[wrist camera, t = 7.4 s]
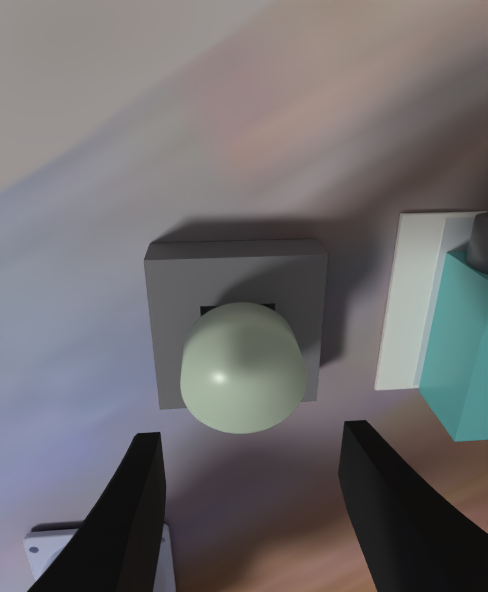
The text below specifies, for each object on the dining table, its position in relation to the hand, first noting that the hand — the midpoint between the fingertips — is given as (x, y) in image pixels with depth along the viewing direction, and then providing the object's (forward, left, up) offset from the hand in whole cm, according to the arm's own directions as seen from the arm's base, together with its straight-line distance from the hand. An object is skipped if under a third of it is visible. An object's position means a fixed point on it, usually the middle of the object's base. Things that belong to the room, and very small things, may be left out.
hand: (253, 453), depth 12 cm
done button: (0, 0, -7) cm, 7 cm away
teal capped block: (0, -11, -8) cm, 14 cm away
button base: (0, 0, -8) cm, 8 cm away
